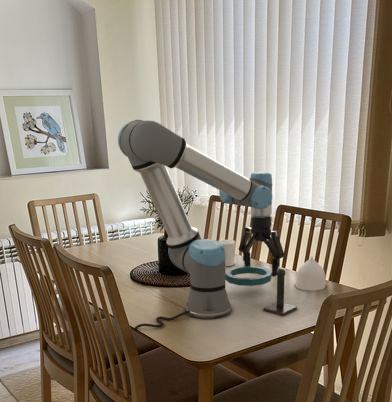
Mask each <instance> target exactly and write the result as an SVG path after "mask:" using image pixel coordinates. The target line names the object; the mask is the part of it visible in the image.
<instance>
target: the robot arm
mask: <svg viewBox="0 0 392 402" xmlns="http://www.w3.org/2000/svg"><path fill="white" fill-rule="evenodd" d="M117 145H118V148H119V150H120V151H121V152H122V154H123V155H124V156H125V157H127V159H128V161H129V163H130V165H131V168H132V169H133V171H134V172H137V173H139V174H140V176H141V178H142V180H143V183H144V185H145V188H146V190H147V192H148V194H149V196H150V198H151V201H152V203H153V205H154V207H155V209H156V212H157V214H158V217H159V218H160V219H159V220H160V221H161V223H162V225H163V227H164V229H165V232H166V234H167V238H166V245H167V247H168V250H167V251H168V256H169V259H170V261H171V262H172V264H173V265H174V266H175V267H176V268H177V269H180V270H181V271H184V272H185V273H187V274H188V275H189V282H190V283H189V284H190V289H189V294H188V297H187V302H186V304H185V311H183V312H180V313H177V314H176V315H174V316H171V317H166V316H162V315H161V316H157V317H156V318H155V320H156V322H157V323H158V324H152V323H139V324H137V325H135V327H133V329H132V331H137V330H138V329H139V328H141V327H149V328H161V327H163V326H164V322H163V321H162V320H165V321H173V320H176V319H177V318H180V317H182V316H184V315H185V316H186V315H188V316H190V317H192V318H196V319H202V320H203V319H205V320H210V319H219V318H222V317H226V316H228V315H230V313H231V312H232V305H231V301H230V300H229V296H228V292H227V288H226V280H225V273H226V266H225V258H226V256H225V249H224V246H223V245H222V244H221V243H220V242H218V241H219V240H215V239H207V238H202V237H201V235H200V232H199V230H198V228H197V227H194V226H192V225H191V222H190V220H189V217H188V215H187V213H186V210H185V208H184V205H183V202H182V201H181V198H180V196H179V193H178V191H177V189H176V186H175V183H174V181H173V178H172V177H171V174H170V173H169V170H168V168H169V169H174V168H176V169H178V170H180V171H183V172H184V173H186V174H187V175H189V176H191V177H194V178H195V179H197V180H199V181H201V182H203V183H204V184H207V185H209V186H210V187H213V188H214V189H216V190H218V194H219V198H220V201H221V202H222V203H223V204H239V205H242V206H247V207H250V216H251V217H250V226H247V227H244V230H243V231H244V232H243V236H242V238H241V241H240V244H239V246H238V251H239V252H241V253H242V261H243V262H244V264H243V266H251V252H250V250H251V249H252V247H253V245H254V244H255V243H256V242H262V243H264V244H265V245H266V247H267V248H268V250H269V252H270V254H271V255H272V257H273V258H271V263H272V264H271V271H272V278H273V277H274V278H275V277H277V274H276V272H277V270H278V269H279V268H280V266H281V259H282V258H283V259H284V258H285V257H286V253H285V252H284V249H283V246H282V242H281V239H280V235H279V233H280V232H279V230H272V229H271V227H272V223H273V222H272V221H273V217H272V212H273V210H272V209H273V203H272V202H273V177H272V173H271V172H269V171H255V172H251V174H250V177H249V178H248V177H246V176H244V175H243V174H241V173H239V172H237V171H236V170H234V169H232V168H230V167H229V166H226V165H225V164H223V163H221V162H220V161H217V160H215V159H214V158H213V157H210V156H209V155H207V154H205V153H204V152H202V151H200V150H198V149H197V148H194V147H192V146H191V145H189V144H188V143H187V140H186V139H185V138H184V137H182V136H180V135H178V134H177V133H175V132H174V131H172V130H170V129H169V128H168V127H166V126H164V125H163V124H161V123H160V122H157V121H155V120H142V119H134V120H131V121H128V122H126V123H125V124H124V125H123V126H122V127H121V128H120V130H119V133H118V136H117ZM251 234H252V235H251Z"/></svg>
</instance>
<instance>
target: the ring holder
mask: <svg viewBox="0 0 392 402" xmlns="http://www.w3.org/2000/svg"><path fill="white" fill-rule="evenodd" d="M276 274H277V276H276V302H273V303H271V304H268V305H267V306H264V307H263V310H262V311H264V312H267V313H271V314H274V315H278V316H281V317H284V316H286V315H288V314H290V313H292V312H294V311H296V310H297V309H298V306H296V305H292V304H289V303H285V281H286V280H285V279H286V278H285V277H286V270H285V269H284V268H281V267H279V268H278V270H277V272H276Z"/></svg>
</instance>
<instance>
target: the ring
mask: <svg viewBox="0 0 392 402" xmlns="http://www.w3.org/2000/svg"><path fill="white" fill-rule="evenodd" d="M245 274H254V275H259V276H256V277H240V276H237V275H245ZM272 279H273V276H272V270H270V269H269V268H268V267H262V266H258V265H250V266H244V265H241V266H235V267H231V268H228V269H227V270H225V282H227V283H229V284H232V285H236V286H245V287H255V286H262V285H265V284H268V283H269V282H272Z"/></svg>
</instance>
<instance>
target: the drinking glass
mask: <svg viewBox="0 0 392 402" xmlns="http://www.w3.org/2000/svg"><path fill="white" fill-rule="evenodd" d="M217 241H218V242H220V243H221V244H222V245H223V246H224V249H225V256H226V258H225V267H232V266H234V265H235V257H236V240H233V239H220V240H217Z"/></svg>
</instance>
